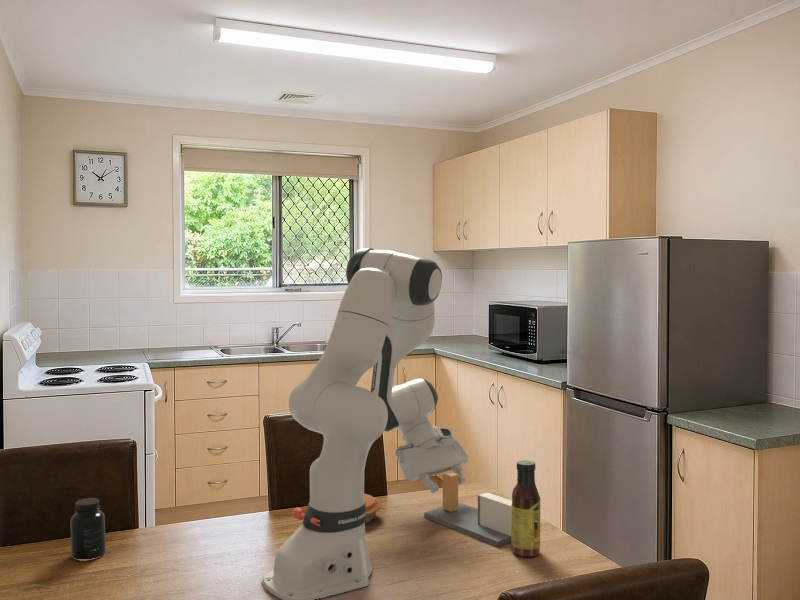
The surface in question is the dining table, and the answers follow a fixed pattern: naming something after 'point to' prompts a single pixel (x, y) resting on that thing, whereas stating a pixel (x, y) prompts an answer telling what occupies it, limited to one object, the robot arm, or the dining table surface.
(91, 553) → the supplement bottle
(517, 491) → the sauce bottle
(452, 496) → the tan wooden beam
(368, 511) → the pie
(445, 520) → the grey base plate
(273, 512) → the dining table surface
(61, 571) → the dining table surface
